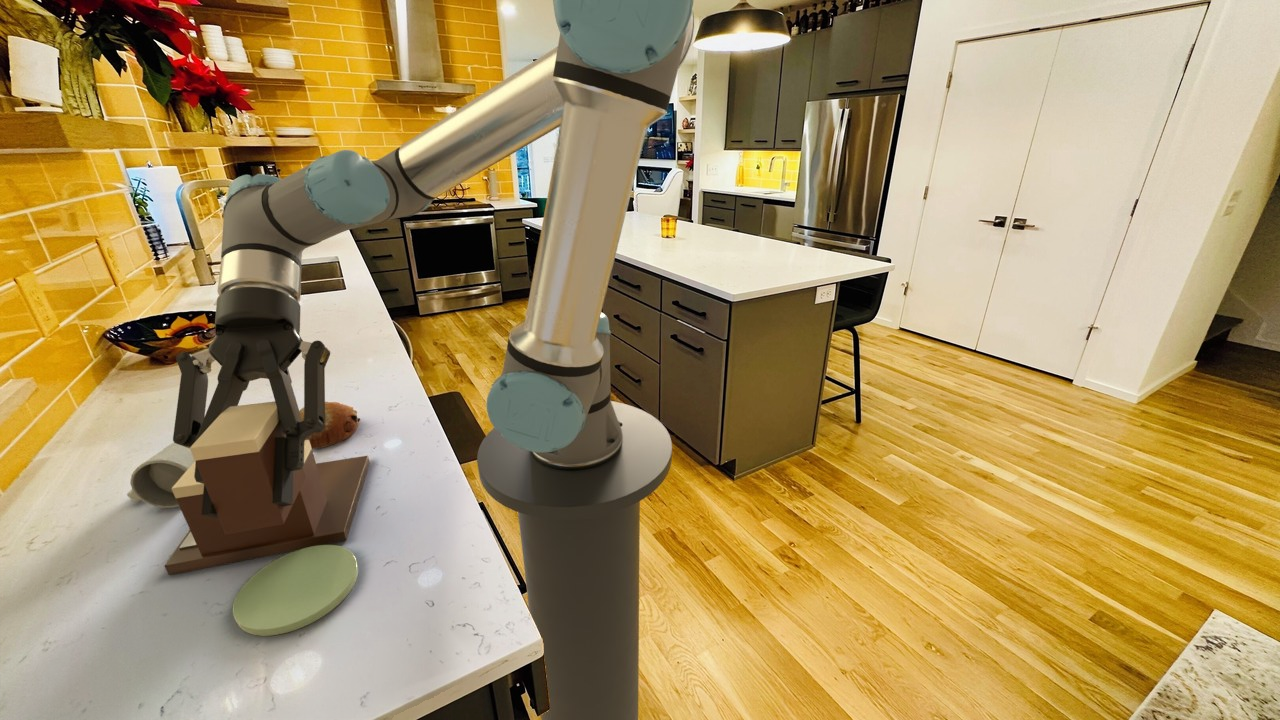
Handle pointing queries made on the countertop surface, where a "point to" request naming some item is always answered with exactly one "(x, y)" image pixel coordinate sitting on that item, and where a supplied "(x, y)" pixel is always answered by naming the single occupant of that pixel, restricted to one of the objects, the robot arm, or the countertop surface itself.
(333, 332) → the countertop surface
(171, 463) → the ceramic mug
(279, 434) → the cake slice
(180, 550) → the cake board
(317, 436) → the bread roll
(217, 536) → the cake
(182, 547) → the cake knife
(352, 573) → the plate
